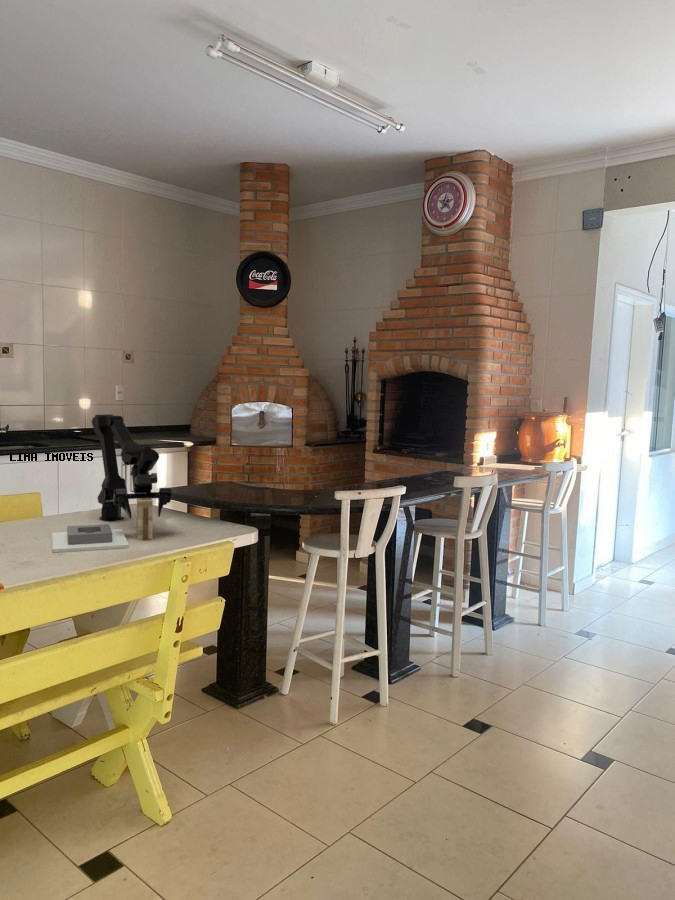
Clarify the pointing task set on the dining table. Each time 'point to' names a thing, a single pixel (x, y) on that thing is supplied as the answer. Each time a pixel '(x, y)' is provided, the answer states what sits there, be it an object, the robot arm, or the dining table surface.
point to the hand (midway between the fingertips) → (145, 516)
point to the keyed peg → (144, 518)
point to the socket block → (88, 538)
